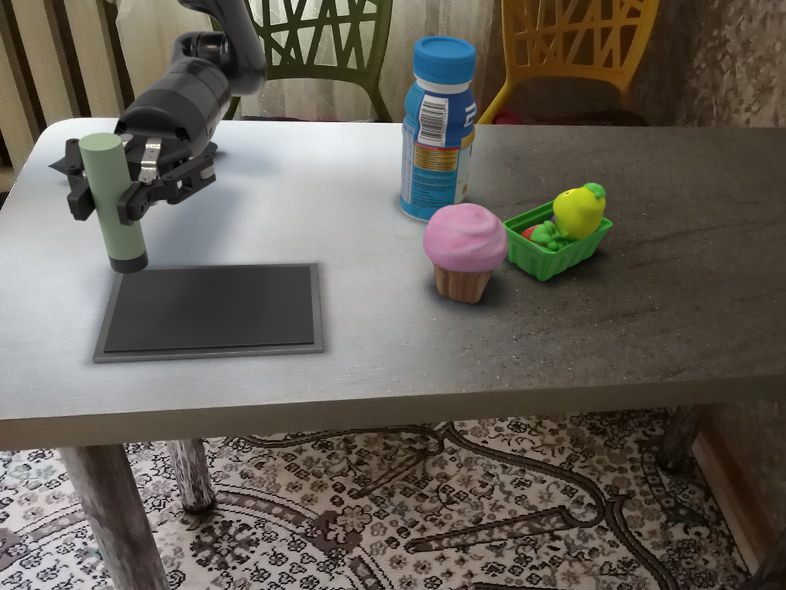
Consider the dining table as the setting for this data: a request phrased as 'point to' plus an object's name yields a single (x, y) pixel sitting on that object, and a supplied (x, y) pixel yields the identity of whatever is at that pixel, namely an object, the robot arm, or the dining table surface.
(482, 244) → the cupcake
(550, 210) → the fruit basket
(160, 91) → the robot arm
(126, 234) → the mint green cylinder
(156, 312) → the tablet
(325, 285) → the dining table surface
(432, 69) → the beverage bottle
